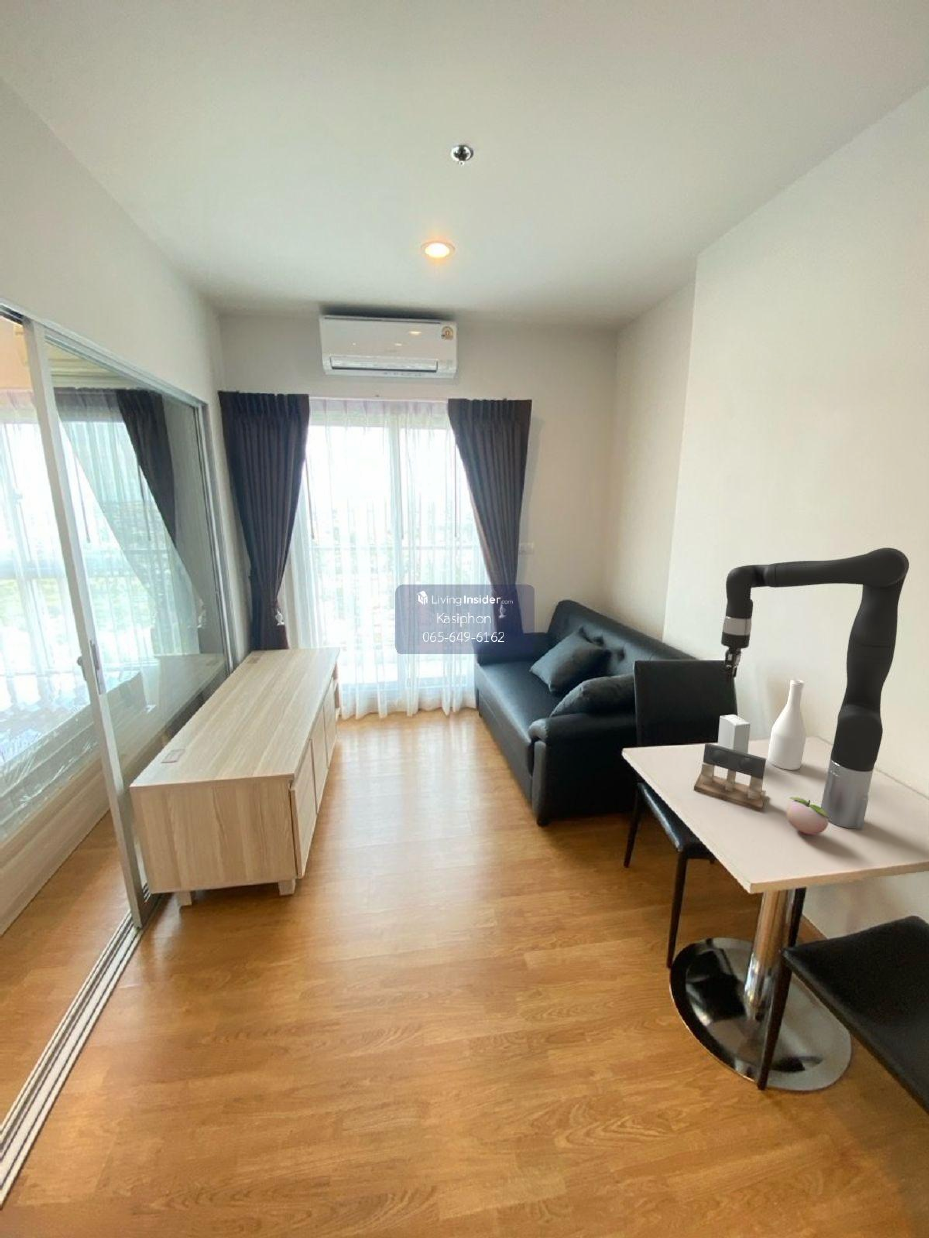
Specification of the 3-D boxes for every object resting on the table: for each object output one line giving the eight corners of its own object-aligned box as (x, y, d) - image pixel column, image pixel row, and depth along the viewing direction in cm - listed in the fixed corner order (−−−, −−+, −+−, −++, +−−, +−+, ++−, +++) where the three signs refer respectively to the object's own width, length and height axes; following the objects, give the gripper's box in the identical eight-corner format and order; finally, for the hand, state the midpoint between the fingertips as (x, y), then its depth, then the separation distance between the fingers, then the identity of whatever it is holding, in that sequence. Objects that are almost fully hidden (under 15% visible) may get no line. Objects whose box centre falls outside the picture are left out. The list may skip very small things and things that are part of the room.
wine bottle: (761, 760, 163) (774, 678, 156) (777, 753, 167) (790, 674, 160) (790, 773, 155) (805, 688, 148) (806, 766, 159) (821, 682, 152)
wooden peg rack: (765, 795, 143) (769, 771, 142) (761, 811, 136) (765, 787, 134) (700, 775, 154) (703, 753, 152) (693, 790, 146) (696, 766, 144)
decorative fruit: (777, 830, 128) (782, 797, 126) (789, 818, 133) (794, 787, 130) (818, 849, 121) (825, 815, 118) (829, 836, 125) (835, 803, 123)
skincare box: (747, 764, 161) (752, 724, 157) (730, 765, 160) (736, 725, 157) (730, 751, 169) (735, 713, 165) (714, 753, 168) (719, 714, 165)
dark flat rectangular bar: (763, 776, 139) (766, 758, 137) (762, 779, 138) (765, 760, 136) (703, 760, 148) (706, 742, 147) (702, 762, 147) (705, 744, 146)
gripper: (747, 637, 137) (739, 690, 141) (753, 628, 148) (746, 676, 152) (718, 633, 142) (712, 684, 146) (726, 624, 153) (720, 671, 157)
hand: (729, 680), depth 149 cm, fingers open, 8 cm apart
